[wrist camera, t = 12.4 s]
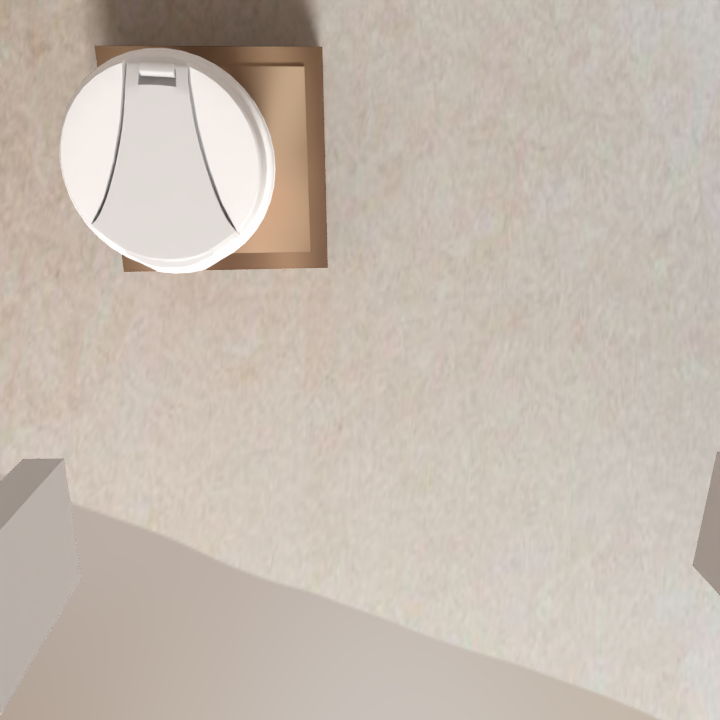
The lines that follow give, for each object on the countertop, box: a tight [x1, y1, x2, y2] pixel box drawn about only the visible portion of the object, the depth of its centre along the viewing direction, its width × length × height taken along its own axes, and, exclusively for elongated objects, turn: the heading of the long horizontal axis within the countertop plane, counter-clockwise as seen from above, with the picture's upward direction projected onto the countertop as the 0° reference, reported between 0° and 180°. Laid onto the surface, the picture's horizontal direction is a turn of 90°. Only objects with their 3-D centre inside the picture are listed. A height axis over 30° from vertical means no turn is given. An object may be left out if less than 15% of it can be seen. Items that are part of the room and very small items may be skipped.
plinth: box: [95, 46, 328, 272], centre depth 36 cm, size 12×12×4 cm
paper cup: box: [59, 48, 276, 273], centre depth 28 cm, size 8×8×14 cm
